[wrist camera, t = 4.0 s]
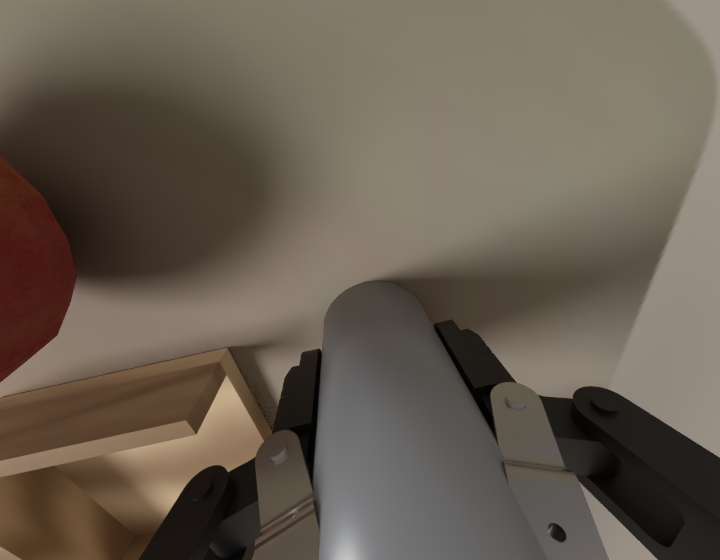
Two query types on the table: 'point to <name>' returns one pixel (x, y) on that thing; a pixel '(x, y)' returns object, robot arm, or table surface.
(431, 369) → the grey cylinder
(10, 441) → the divided wooden tray
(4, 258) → the fruit
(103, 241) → the table surface
